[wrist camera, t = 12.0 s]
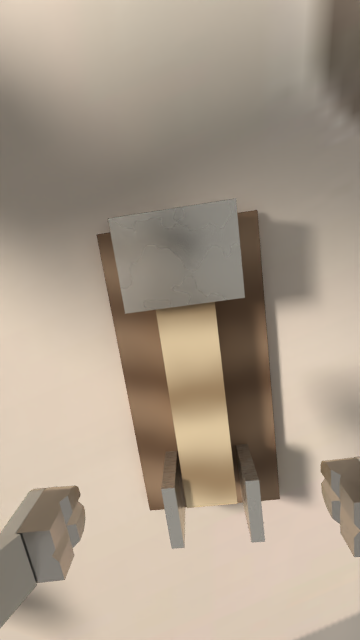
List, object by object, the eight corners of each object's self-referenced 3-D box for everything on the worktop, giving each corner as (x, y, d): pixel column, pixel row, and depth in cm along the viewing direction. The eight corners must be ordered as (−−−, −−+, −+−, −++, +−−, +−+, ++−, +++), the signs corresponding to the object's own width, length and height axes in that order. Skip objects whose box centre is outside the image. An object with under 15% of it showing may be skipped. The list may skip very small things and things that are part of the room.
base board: (100, 236, 21) (96, 234, 20) (254, 212, 20) (257, 210, 19) (151, 501, 26) (150, 510, 25) (276, 490, 25) (279, 499, 24)
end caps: (127, 229, 20) (107, 218, 15) (224, 215, 19) (235, 198, 15) (174, 503, 25) (170, 562, 20) (252, 496, 24) (268, 555, 19)
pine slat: (152, 252, 20) (146, 250, 17) (205, 245, 20) (207, 241, 17) (187, 478, 24) (187, 507, 21) (231, 474, 24) (237, 503, 21)
